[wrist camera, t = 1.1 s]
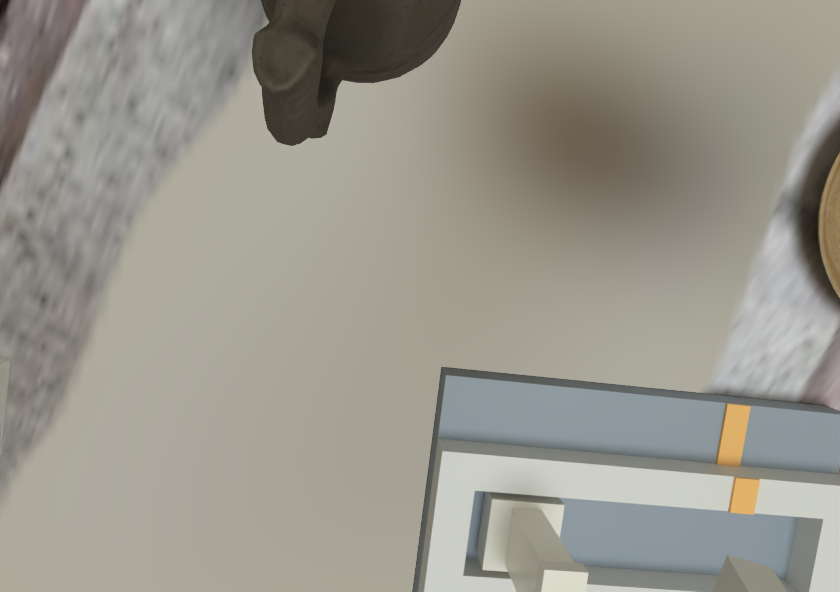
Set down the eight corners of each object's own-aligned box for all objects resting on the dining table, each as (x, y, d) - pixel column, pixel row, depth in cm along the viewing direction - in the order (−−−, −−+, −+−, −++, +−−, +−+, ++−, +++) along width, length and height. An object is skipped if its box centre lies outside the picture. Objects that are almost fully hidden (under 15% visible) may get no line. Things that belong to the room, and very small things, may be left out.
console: (779, 647, 43) (824, 693, 39) (408, 625, 41) (413, 672, 37) (826, 405, 42) (878, 427, 37) (441, 366, 39) (451, 385, 35)
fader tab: (544, 558, 39) (597, 654, 30) (476, 553, 38) (510, 649, 30) (555, 491, 38) (611, 570, 30) (485, 485, 38) (523, 563, 29)
